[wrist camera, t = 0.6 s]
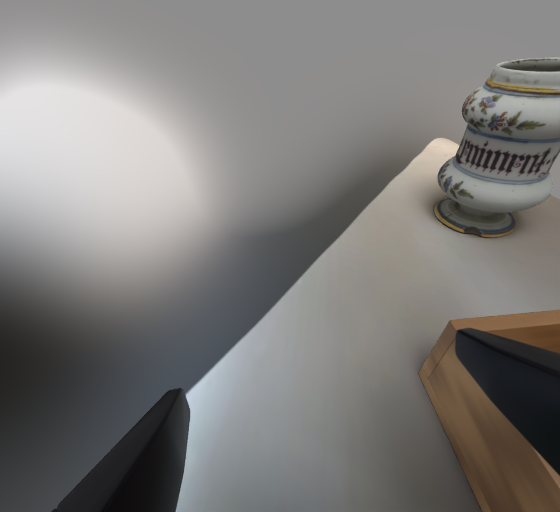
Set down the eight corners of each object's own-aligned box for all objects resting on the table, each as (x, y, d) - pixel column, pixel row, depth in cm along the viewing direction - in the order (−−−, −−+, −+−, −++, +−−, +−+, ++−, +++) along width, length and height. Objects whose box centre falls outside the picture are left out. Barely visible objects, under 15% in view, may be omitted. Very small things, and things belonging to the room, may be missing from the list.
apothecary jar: (426, 233, 36) (484, 73, 24) (426, 192, 44) (469, 57, 32) (536, 251, 32) (671, 70, 20) (514, 202, 40) (600, 53, 28)
